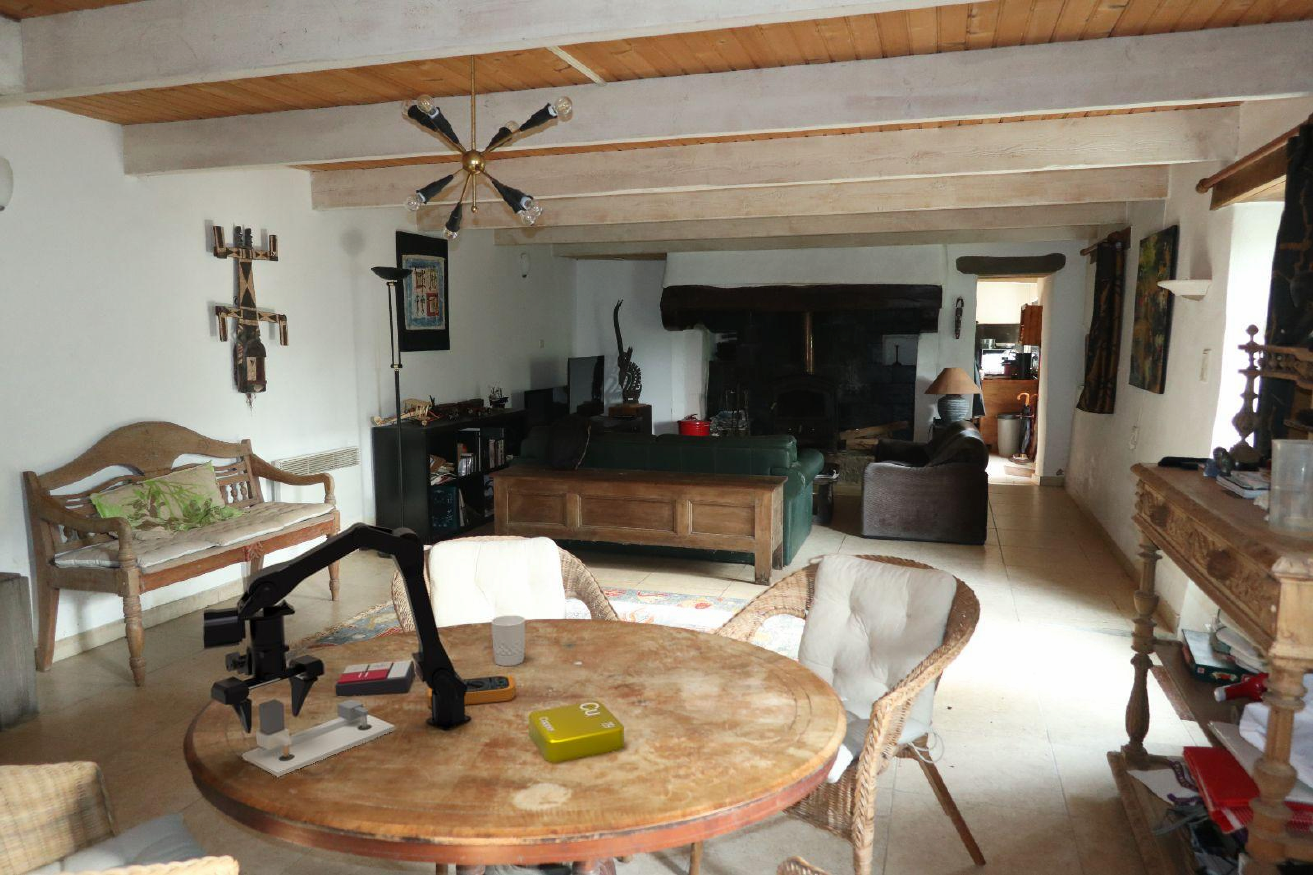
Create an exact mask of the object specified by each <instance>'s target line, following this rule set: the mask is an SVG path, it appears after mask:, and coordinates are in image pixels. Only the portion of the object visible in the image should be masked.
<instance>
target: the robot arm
mask: <svg viewBox="0 0 1313 875" xmlns="http://www.w3.org/2000/svg"><path fill="white" fill-rule="evenodd" d="M360 548H367V549H371V550H374V551H377V552H381V553H384V554H387V555H390V557H391V558H392V561H393V563H394V565H395V567H396V569H397V571H398V572H399V574H400V577H401V578H402V582H403V586H404V590H405V594H406V598H407V602H408V606H409V610H410V614H411V617H412V622H413V625H414V628H415V629H414V631H415V633H416V637H417V642H418V649H417V652H412V653H411V657H412V658H413V661H414V666H415V668H414V670H415V674H416V675H417V676H418V677H419V679H420V680H421V682H422V683H425V684H426V685H427V688H428V687H429V688H430V689H432V690H431V691H432V696H431V708H430V709H431V710H430V711H431V717H429V718H426V720H425V722H426V723H427V724H429V725H432V726H434V727H436V728H439V729H442V730H444V731H448V730H451V729H453V728H455V727H458V726H461V725H463V724H465V723H467V722H469V721H472V716H470V715H466V705H465V697H464V696H465V694H466V691H467V688H468V686H467V685H466V683H465V682H464V681H463V680H462V679H463V678H462V677H461V676H460V675H459V674H458V672H457V671H456V670H455V668H454V665H453V664H452V661H451V659H450V657H449V654H448V653H447V651H446V649H445V648H444V645H443V643H442V642H441V638H440V634H439V631H438V630H439V629H438V626H437V622H436V618H435V615H434V611H433V606H432V603H431V599H430V596H429V590H428V586H427V583H426V578H425V575H424V574H425V564H426V563H425V562H426V560H425V559H426V558H425V557H426V556H425V546H424V541H423V539H422V538H421V537H420V536H419V535H418V534H417V533H416V532H414V531H413V529H412V530H411V528H408V527H404V526H403V527H398V528H396V529H391V528H388V527H384V526H383V527H382V526H378V525H376V526H375V525H370V524H367V523H365V522H361V521H360V522H359V521H358V522H355V523H353V524H351V526H350V527H348V528H346V529H345V530H343V531H340V532H338V534H335V535H333V536H332V537H330V538H328V539H326V540H325V541H323V542H321V543H319V544H317V545H316V546H314V547H312V548H310V549H308V550H307V551H305V552H303V553H301V554H300V555H298V556H295V557H294V558H292V559H289V560H286V561H282V562H278V563H274V564H271V565H268V566H265V567H262V568H260V569H257V570H256V571H254V572H252V573H250V575H249V577H248V579H247V582H246V590H245V591H244V593H243V594H242V596H241V597H240V599H239V600H238V601H237V603H236V607H227V608H220V609H218V608H217V609H213V608H211V609H204V610H203V611H202V612H203V626H202V628H203V629H202V632H203V634H202V636H203V649H204V651H208V650H214V649H223V648H229V647H230V648H231V647H236V646H240V643H242V642H243V641H244V640H243V639H246V638H247V630H246V629H247V628H246V621H248V625H249V644H250V645H247V646H246V651H245V652H246V654H242V655H241V654H240V652H239V651H234V652H231V653H227V654H225V655H224V656H225V657H224V658H225V660H224V661H225V669H226V671H227V672H228V673H230V672H233V671H236V673H237V675H241V674H244V675H245V676H251V678H250V677H249V678H247V679H244V680H242V679H240V678H237V677H235V676H231V677H228V678H225V679H224V678H223V679H221V680H218V681H215V682H213V685H212V686H211V687H210V688H211V689H210V698H211V699H212V700H214V701H217V702H218V703H221V704H223V705H225V706H230V707H232V708H233V710H234V711H235V713H236V716H237V718H238V719H239V721H240V723H241V725H242V729H243V731H244V732H245V733H247V735H248V734H251V732H252V720H253V717H252V714H253V712H252V709H253V707H252V706H253V705H252V699H251V698H248V697H249V695H250V691H251V690H255V689H257V688H260V687H264V686H267V685H270V684H273V683H278V682H279V681H283V680H286V679H288V682H289V684H290V689H291V690H290V691H291V692H290V693H291V696H290V697H291V698H290V699H291V700H290V701H291V713H292V717H295V718H297V717H299V714H300V712H301V709H302V708H303V704H304V702H305V700H306V699H307V696H308V694H309V692H310V690H311V689H312V687H313V685H314V684H315V682H318V681H319V677H320V676H324V675H325V674H326V670H325V669H326V667H325V663H324V661H323V660H322V659H321V658H318V657H315V656H313V655H310V654H306V655H302V656H298V657H295V658H291V659H290V661H289V662H288V666H287V652H290V645H289V644H286V637H285V636H286V633H285V616H291V615H295V614H296V609H295V607H294V606H293V605H291V604H290V603H289V602H287V600H286V599H284V598H285V597H287V596H288V595H289V594H291V593H292V592H293V591H294V590H295V589H296V587H298V586H299V585H300V584H301V583H302V582H303V581H304V580H306V579H308V578H309V577H311V576H313V575H315V574H316V573H319V572H320V571H321V570H323V569H326V568H327V567H329V566H330V565H332V564H334V563H336V562H338V561H339V560H341V559H343V558H345V557H346V556H348V555H350V554H352V553H353V552H354V553H355V551H357V550H359V549H360ZM280 601H281V602H280ZM279 602H280V603H279Z"/></svg>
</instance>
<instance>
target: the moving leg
mask: <svg viewBox="0 0 1313 875" xmlns="http://www.w3.org/2000/svg"><path fill="white" fill-rule="evenodd" d="M258 712H259V714H258V716H259V730H256V731H255V736H256V744H257V745H258V746H259V747H264V748H266V749H268V750H270V749H272V748H275V747H278V746H280V745H283V752H284V757H288V756H290V749H289V745H290V744H292V739H290V738H289V736H290V729H289V728H286V727H285V708H284V702H283V701H280V700H277V699H275V698H274V699H271V700H268V701H265V702H262V703H259V704H258Z"/></svg>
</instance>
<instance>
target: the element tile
mask: <svg viewBox="0 0 1313 875" xmlns="http://www.w3.org/2000/svg"><path fill="white" fill-rule="evenodd" d="M624 728H625V727H624V725H623V723H621V721H620V720H619V719H618V718H617V717H616V716H615V715H614V714H613V713H612V712H611V711H610V710H609V709H608V708H607V707H606V706H605V705H604V704H603V702H600V701H598V700H593V701H586V702H581V703H575V704H569V705H565V706H558V707H552V708H547V709H541V710H536V711H532V712H530V713H529V714H528V736H529V738H530V739H531V741H532V742H533V744H534V745H535V747H536V748H537V749H538V752H540V754H541V755H542V756H543V758H544V759H545V761H547V762H549V763H553V764H555V763H563V762H568V760H569V761H573V760H578V759H583V758H589V757H593V756H592V755H594V756H598V755H603V754H608V752H609V753H612V751H614V752H618V751H621V750H622V748H623V747H625V733H624V732H625V729H624ZM620 749H621V750H620ZM623 749H624V748H623ZM588 756H589V757H588Z"/></svg>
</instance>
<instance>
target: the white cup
mask: <svg viewBox="0 0 1313 875" xmlns="http://www.w3.org/2000/svg"><path fill="white" fill-rule="evenodd" d="M490 623H491V636H492V646H493V647H492V648H493V653H494V654H493V655H494V663H495V664H496V665H498V666H503V667H507V666H509V667H511V666H515V665H516V666H517V665H520V664H522V663H523V662H524V660H525V644H526V640H525V639H526V618H525V617H524V616H522V615H514V614H511V615H510V614H509V615H501V616H497V617H494V618H492V619H491V622H490Z"/></svg>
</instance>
